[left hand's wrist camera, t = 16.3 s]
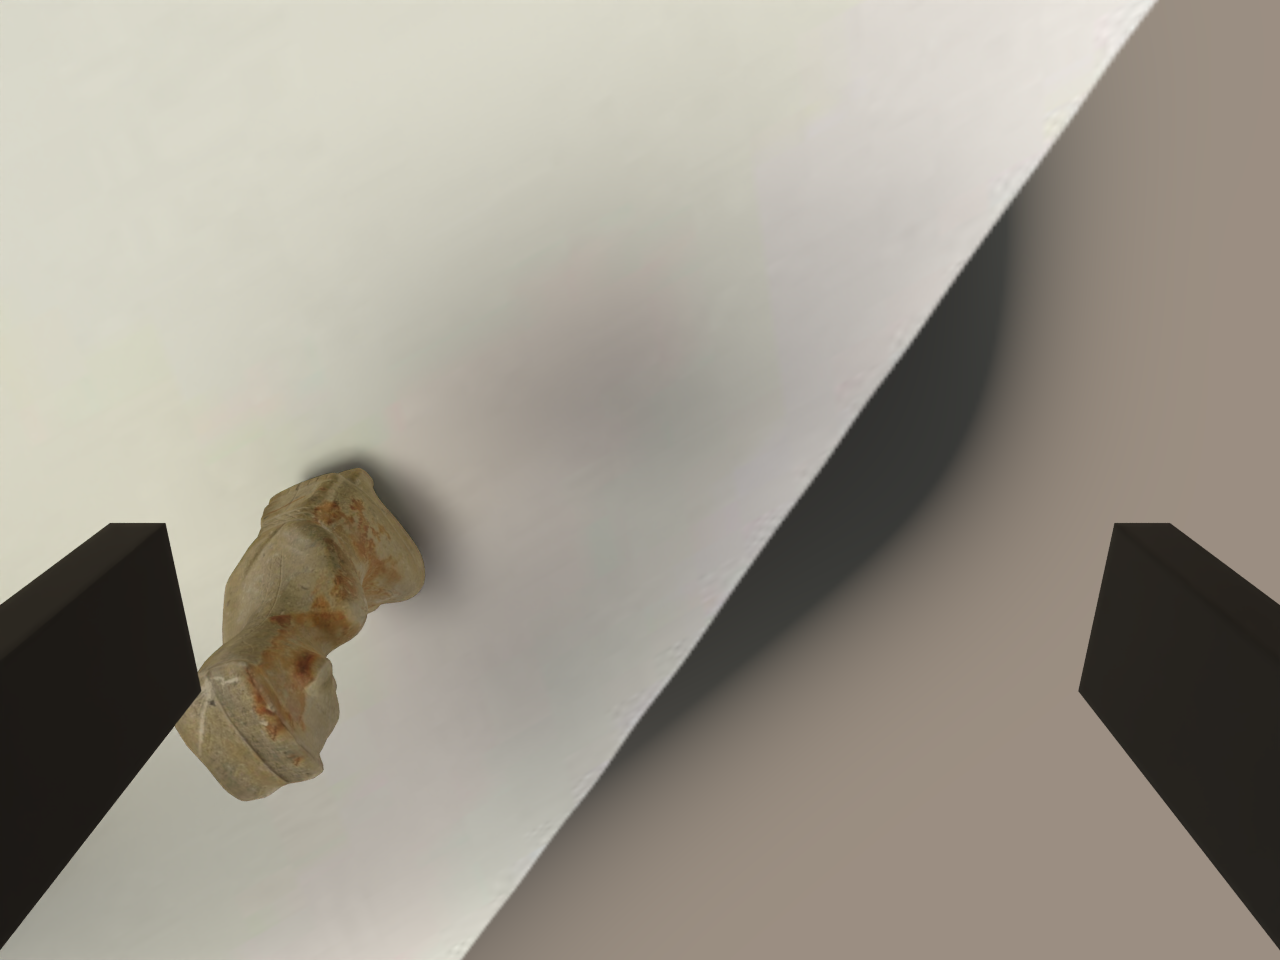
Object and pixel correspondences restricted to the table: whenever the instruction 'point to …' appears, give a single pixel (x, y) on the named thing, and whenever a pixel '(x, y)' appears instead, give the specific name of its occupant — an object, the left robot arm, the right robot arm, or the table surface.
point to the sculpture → (295, 630)
